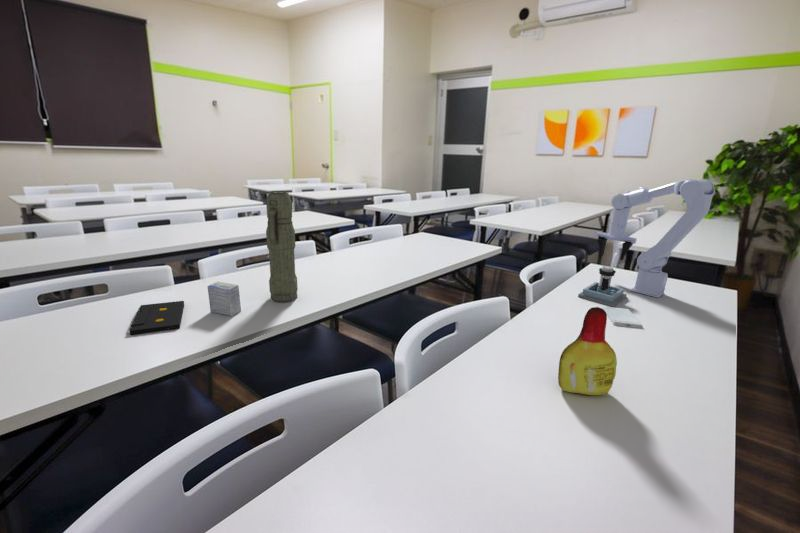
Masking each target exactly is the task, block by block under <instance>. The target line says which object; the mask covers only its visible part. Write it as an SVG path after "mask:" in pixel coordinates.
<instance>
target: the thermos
mask: <svg viewBox="0 0 800 533" xmlns="http://www.w3.org/2000/svg"><path fill="white" fill-rule="evenodd" d="M292 202H293V201H292V199H291V196H290V193H288V192H286V191H282V190H278V191H277V190H275V191H270V192H268V193H267V197H266V204H265V205H266V217H267V227H266V230H265V233H266V234H265V236H266V247H267V250H268V257H269V273H270V277H269V280H268V283H269V284H268V285H269V293H270V300H271V301H272V302H275V303H289V302H293V301H296V300H297V299H298V277H297V274H296V260H295V248H296V232H295V231H296V230H295V227H294V224H293V219H292V217H293V209H292V208H293V207H292V206H293V205H292Z"/></svg>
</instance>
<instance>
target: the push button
mask: <svg viewBox="0 0 800 533" xmlns="http://www.w3.org/2000/svg"><path fill="white" fill-rule="evenodd" d="M598 271H599V272H598V273H599V275H600V276H599V277H600V278H599V282H598V283H599V284H598V285H597V286H596V289H595V292H599V293H603V294H606V295H610V294H611V293H612V292H611V291H615V290H611V288H610V286H611V282H612V277H615V274H616V273H617V272H616V270H615V269H614V267H611V266H609V265H608V266H607V265H604V266H603V265H602V266H601V268H600V267H599V269H598Z"/></svg>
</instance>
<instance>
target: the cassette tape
mask: <svg viewBox="0 0 800 533" xmlns="http://www.w3.org/2000/svg"><path fill="white" fill-rule="evenodd" d="M184 307H185V301H184V300H179V301H177V300H176V301H168V302H159V303H150V304H149V303H148V304H141V305H140V306H139V307H138V310H137V311H136V313H135V316H134V319H133V320H132V322H131V325H130V328H129V335H130V336H137V335H143V334H151V333H152V334H153V333H157V332H159V333H160V332H165V331H174V330H179V329H180V328H181V324H182V320H183V319H182V318H183V314H184V309H185V308H184Z"/></svg>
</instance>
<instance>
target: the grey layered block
mask: <svg viewBox="0 0 800 533" xmlns="http://www.w3.org/2000/svg"><path fill="white" fill-rule="evenodd" d="M207 294H208V300H209V301H208V302H209V310H210V313H213V314H218V315H219V314H220V315H223V316H229V317H233V316H234V315H236V314H238V313H241V311H242V306H241V299H240V298H241V297H240V287H239V285H238V284H234V283H229V282H223V281H216V282H214V283H211V284H209V285H207Z"/></svg>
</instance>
